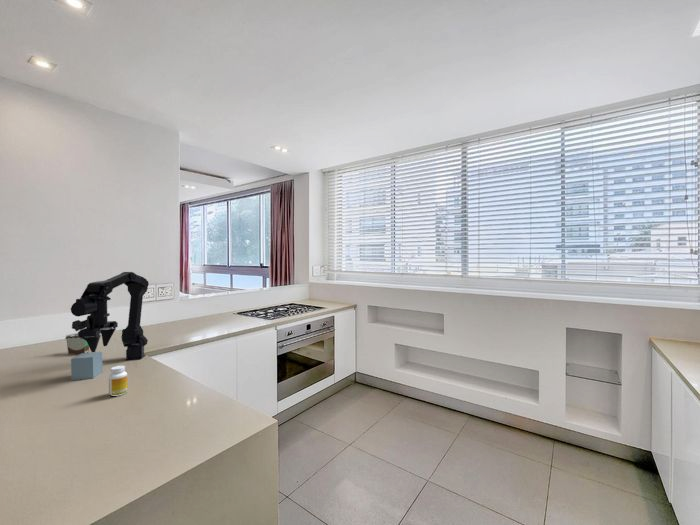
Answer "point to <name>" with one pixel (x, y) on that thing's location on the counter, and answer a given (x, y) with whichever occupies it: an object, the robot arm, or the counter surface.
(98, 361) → the pale blue-grey cube
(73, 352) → the food container
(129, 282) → the robot arm
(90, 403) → the counter surface
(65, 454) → the counter surface
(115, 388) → the supplement bottle
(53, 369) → the counter surface
